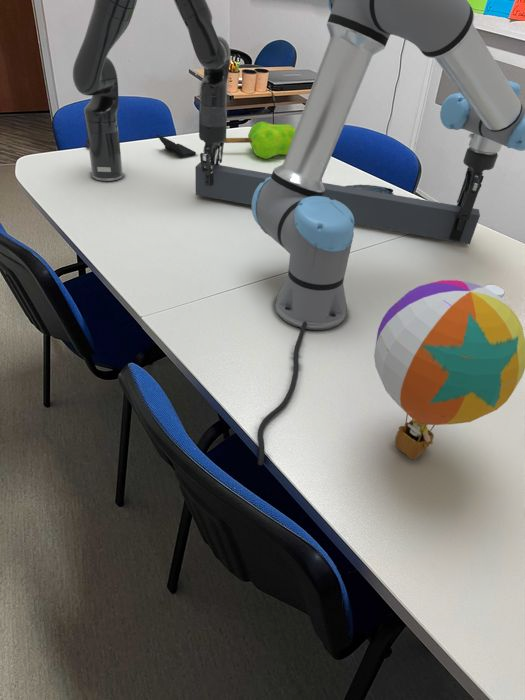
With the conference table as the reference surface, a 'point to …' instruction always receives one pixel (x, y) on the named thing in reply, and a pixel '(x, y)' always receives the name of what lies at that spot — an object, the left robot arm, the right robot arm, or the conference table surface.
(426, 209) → the bar
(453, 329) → the toy
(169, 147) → the handheld gaming console
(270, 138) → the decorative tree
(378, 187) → the fish model
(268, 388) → the conference table surface
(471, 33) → the right robot arm
